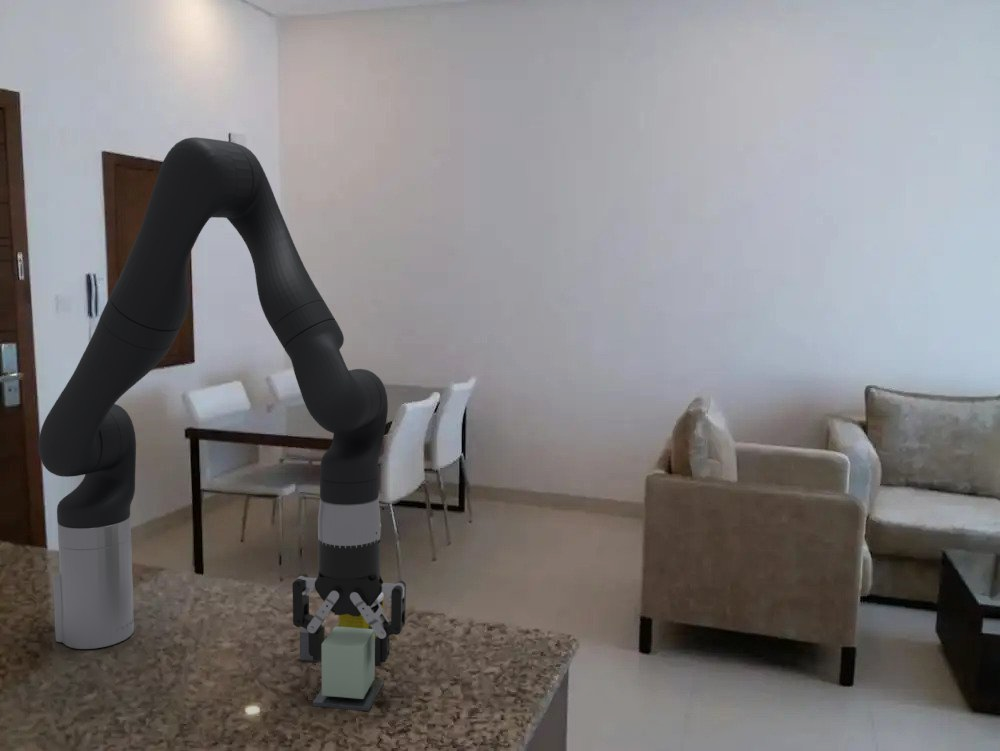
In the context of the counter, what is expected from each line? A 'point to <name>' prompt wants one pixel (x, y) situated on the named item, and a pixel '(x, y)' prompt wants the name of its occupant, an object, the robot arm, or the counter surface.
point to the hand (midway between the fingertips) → (349, 660)
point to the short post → (306, 645)
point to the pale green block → (348, 662)
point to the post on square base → (351, 699)
